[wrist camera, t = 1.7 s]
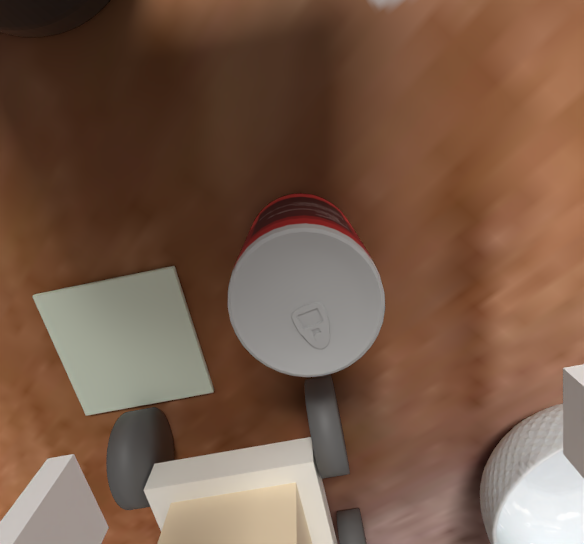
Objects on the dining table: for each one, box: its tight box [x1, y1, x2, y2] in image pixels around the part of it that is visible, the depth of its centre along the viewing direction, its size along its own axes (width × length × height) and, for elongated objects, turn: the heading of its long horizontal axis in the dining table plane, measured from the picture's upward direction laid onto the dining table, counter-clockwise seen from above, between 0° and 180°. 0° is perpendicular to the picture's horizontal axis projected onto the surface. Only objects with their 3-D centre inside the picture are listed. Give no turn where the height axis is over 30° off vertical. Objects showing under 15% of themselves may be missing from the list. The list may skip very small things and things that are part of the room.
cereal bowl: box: [480, 404, 584, 544], centre depth 33 cm, size 17×17×7 cm
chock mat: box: [32, 266, 214, 416], centre depth 33 cm, size 11×11×1 cm
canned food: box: [228, 193, 385, 377], centre depth 25 cm, size 8×8×11 cm
